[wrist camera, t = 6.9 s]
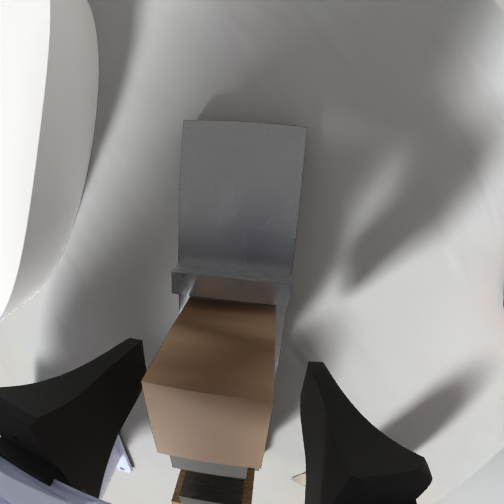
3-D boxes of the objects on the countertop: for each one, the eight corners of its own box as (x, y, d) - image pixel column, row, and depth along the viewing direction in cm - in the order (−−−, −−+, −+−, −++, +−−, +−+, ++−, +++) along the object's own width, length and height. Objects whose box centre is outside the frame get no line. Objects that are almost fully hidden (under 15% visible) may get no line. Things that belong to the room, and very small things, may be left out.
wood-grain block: (192, 378, 16) (160, 464, 10) (189, 297, 14) (141, 381, 8) (265, 387, 15) (258, 479, 10) (275, 306, 14) (273, 400, 8)
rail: (195, 447, 20) (173, 526, 13) (193, 123, 13) (111, 96, 6) (259, 455, 20) (252, 538, 12) (303, 130, 13) (334, 101, 6)
